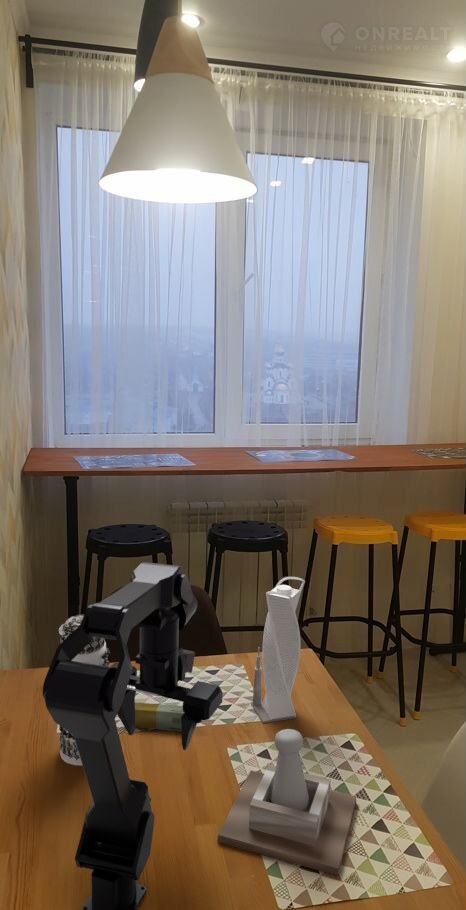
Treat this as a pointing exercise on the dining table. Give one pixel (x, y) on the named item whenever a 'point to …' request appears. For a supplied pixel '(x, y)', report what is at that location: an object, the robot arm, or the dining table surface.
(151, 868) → the dining table surface
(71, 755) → the decorative candle
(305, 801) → the salt shaker
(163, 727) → the medication box
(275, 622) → the skyscraper
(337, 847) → the socket board
